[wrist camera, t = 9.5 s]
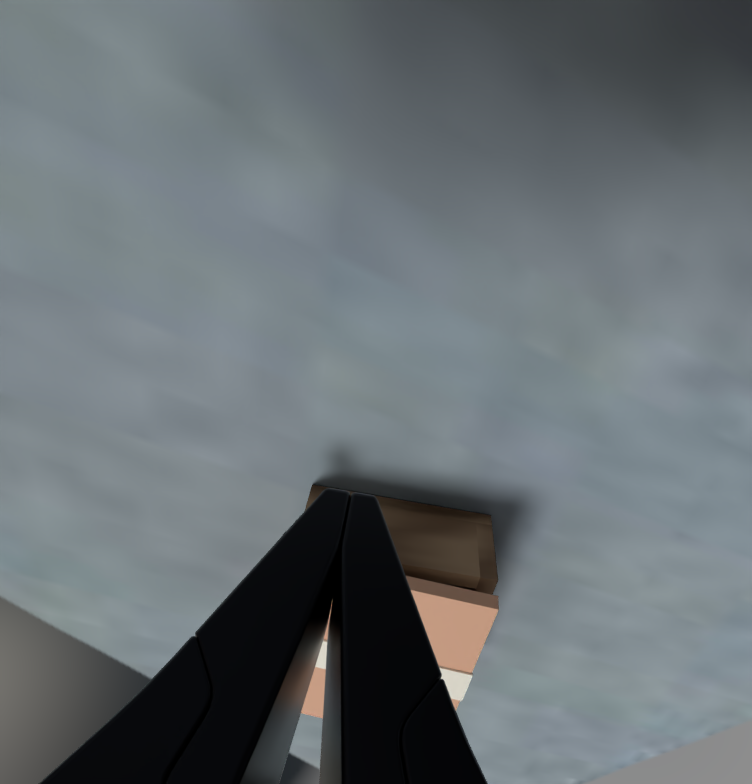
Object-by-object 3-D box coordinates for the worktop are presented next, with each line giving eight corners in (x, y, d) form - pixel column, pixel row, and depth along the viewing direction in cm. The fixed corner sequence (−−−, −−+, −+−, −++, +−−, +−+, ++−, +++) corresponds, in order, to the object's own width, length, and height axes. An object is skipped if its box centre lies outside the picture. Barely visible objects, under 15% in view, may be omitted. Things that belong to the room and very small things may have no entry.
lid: (499, 596, 21) (499, 612, 21) (442, 733, 27) (441, 748, 26) (293, 550, 22) (288, 564, 21) (280, 694, 27) (276, 709, 27)
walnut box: (495, 501, 24) (506, 584, 20) (437, 665, 31) (437, 749, 27) (303, 468, 24) (279, 545, 20) (287, 639, 31) (267, 720, 27)
